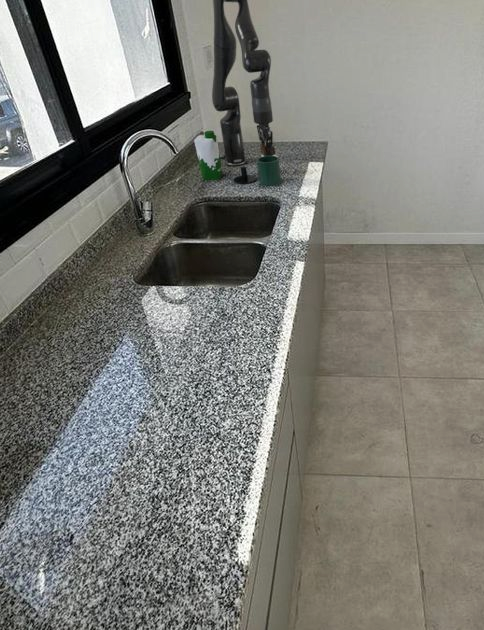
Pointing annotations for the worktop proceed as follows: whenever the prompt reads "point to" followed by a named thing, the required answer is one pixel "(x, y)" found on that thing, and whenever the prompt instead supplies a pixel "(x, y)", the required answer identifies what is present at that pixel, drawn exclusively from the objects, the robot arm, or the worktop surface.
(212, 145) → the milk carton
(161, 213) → the worktop surface
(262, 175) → the tin
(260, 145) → the block
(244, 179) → the lid
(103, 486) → the worktop surface
